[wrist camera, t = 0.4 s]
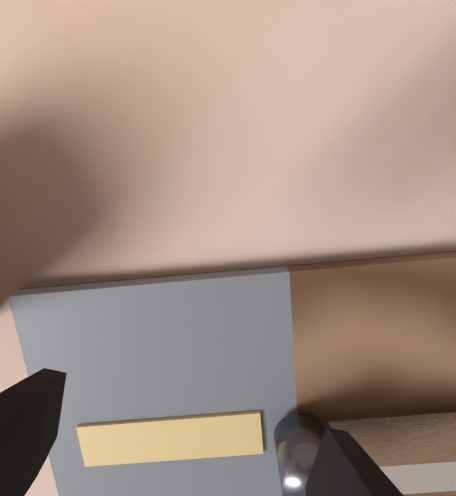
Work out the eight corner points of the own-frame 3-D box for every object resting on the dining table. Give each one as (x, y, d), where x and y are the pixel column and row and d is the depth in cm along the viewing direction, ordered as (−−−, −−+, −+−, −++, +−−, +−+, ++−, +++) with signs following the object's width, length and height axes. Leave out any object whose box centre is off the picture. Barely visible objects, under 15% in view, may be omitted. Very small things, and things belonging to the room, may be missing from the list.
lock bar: (275, 458, 20) (284, 517, 16) (271, 414, 19) (280, 466, 16) (516, 441, 19) (573, 497, 16) (521, 395, 19) (582, 444, 15)
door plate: (301, 537, 23) (305, 557, 22) (84, 552, 23) (76, 572, 22) (286, 266, 19) (290, 273, 17) (19, 289, 19) (5, 297, 18)
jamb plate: (494, 524, 23) (506, 541, 22) (301, 537, 23) (305, 554, 22) (523, 245, 18) (540, 250, 17) (286, 266, 19) (289, 271, 18)
